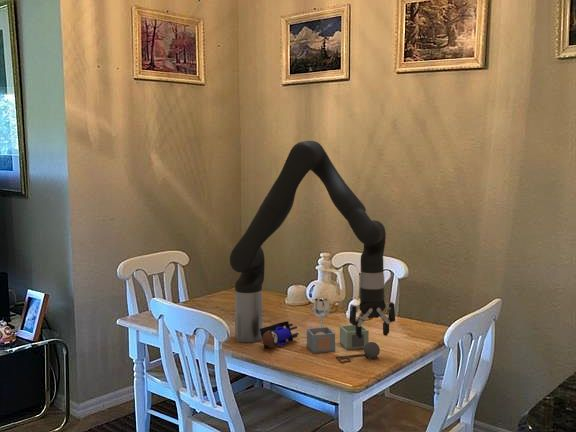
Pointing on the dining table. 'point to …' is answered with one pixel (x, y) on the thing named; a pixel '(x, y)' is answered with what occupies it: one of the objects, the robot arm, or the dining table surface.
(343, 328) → the green storage bin
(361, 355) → the dark brown flat frame
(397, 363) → the dining table surface
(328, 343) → the grey storage bin
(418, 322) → the dining table surface
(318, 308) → the wineglass
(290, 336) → the character figurine
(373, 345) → the ball charcoal
